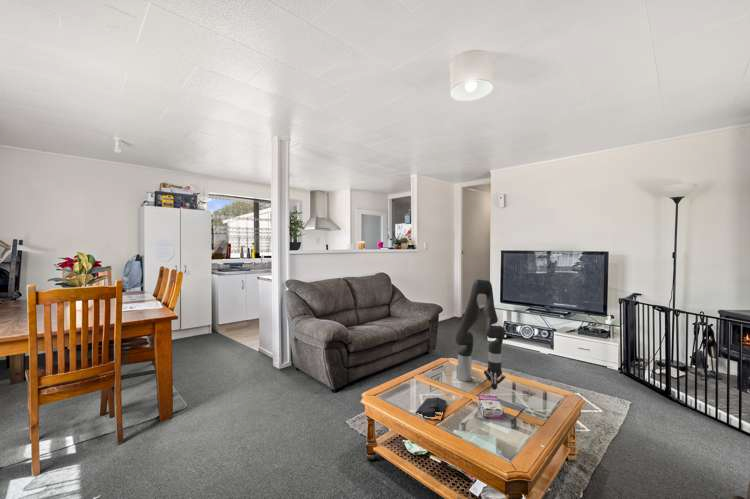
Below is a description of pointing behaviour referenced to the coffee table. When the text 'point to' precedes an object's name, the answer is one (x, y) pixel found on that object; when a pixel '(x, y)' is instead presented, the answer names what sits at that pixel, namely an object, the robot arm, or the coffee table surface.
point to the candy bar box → (490, 406)
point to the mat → (512, 406)
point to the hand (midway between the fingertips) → (494, 389)
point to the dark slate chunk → (431, 407)
